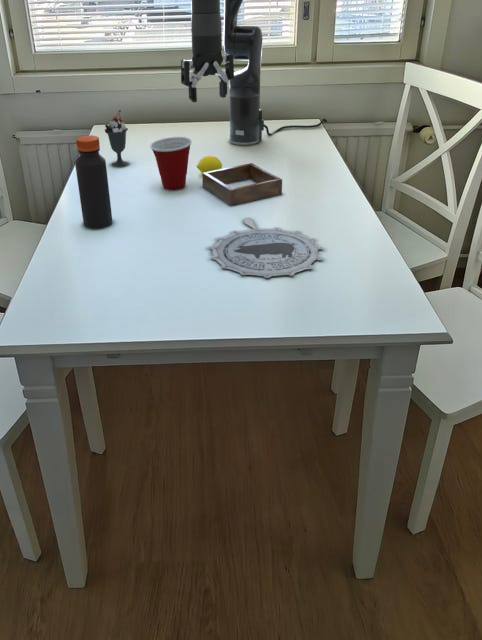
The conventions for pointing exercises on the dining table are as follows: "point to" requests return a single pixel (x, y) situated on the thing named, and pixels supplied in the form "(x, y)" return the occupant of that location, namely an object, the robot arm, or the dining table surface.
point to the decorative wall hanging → (265, 252)
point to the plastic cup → (172, 160)
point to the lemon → (209, 164)
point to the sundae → (117, 139)
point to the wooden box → (233, 196)
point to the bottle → (93, 183)
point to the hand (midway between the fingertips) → (208, 99)
